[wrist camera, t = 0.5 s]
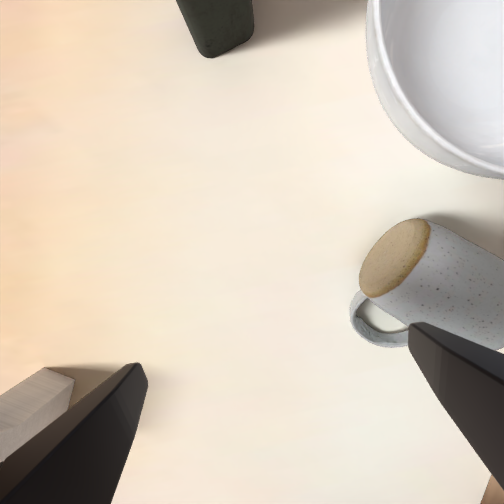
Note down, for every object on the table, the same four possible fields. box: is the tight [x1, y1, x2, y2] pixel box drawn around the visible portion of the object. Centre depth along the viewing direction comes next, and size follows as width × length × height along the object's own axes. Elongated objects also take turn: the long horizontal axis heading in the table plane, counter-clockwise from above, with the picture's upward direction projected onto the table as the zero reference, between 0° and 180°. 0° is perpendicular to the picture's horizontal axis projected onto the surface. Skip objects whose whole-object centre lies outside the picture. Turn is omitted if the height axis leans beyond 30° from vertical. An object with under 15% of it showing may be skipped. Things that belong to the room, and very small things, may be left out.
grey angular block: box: [0, 368, 75, 462], centre depth 22 cm, size 4×7×10 cm, turn 161°
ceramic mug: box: [350, 218, 504, 351], centre depth 19 cm, size 11×8×8 cm
